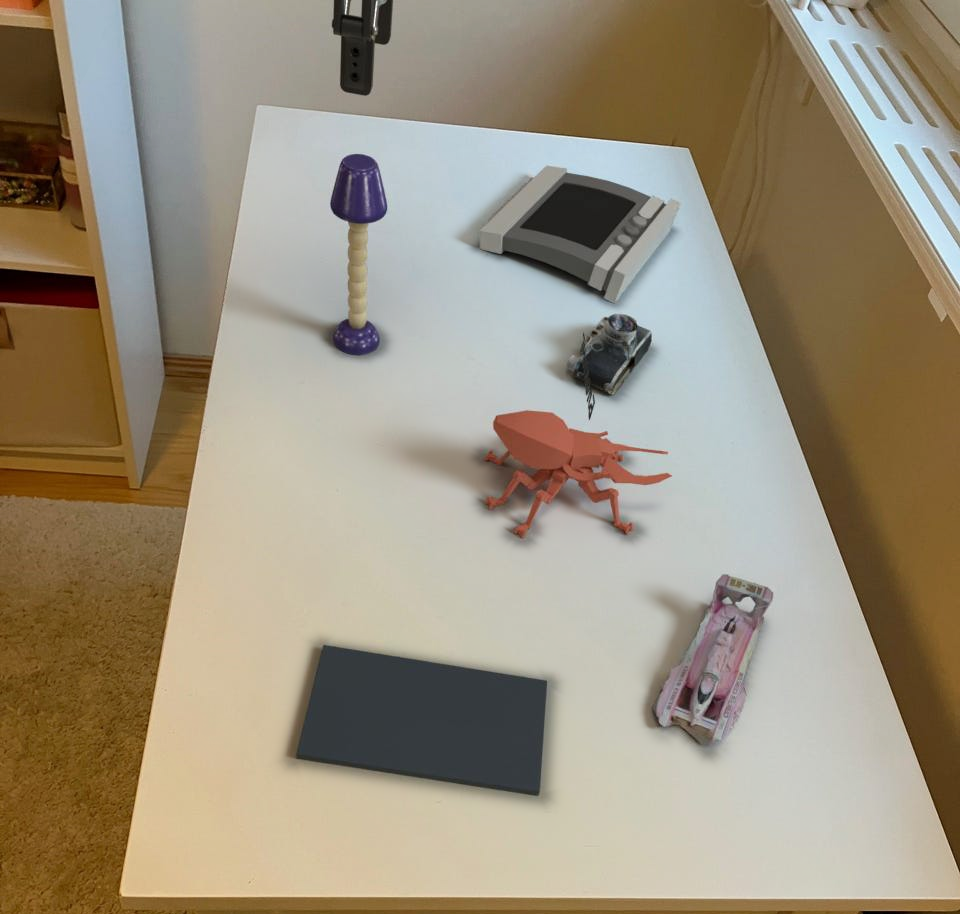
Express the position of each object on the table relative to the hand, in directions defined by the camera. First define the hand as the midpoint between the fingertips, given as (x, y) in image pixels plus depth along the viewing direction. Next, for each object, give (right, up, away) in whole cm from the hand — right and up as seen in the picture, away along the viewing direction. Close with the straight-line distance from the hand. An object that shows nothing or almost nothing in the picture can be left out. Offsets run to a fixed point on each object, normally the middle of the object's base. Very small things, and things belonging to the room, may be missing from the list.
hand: (366, 65), depth 73 cm
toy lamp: (-3, -14, +19) cm, 24 cm away
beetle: (+16, -30, +11) cm, 35 cm away
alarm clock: (+19, +1, +35) cm, 39 cm away
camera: (+21, -16, +22) cm, 34 cm away
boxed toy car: (+25, -45, +1) cm, 51 cm away
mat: (+5, -48, -5) cm, 48 cm away
